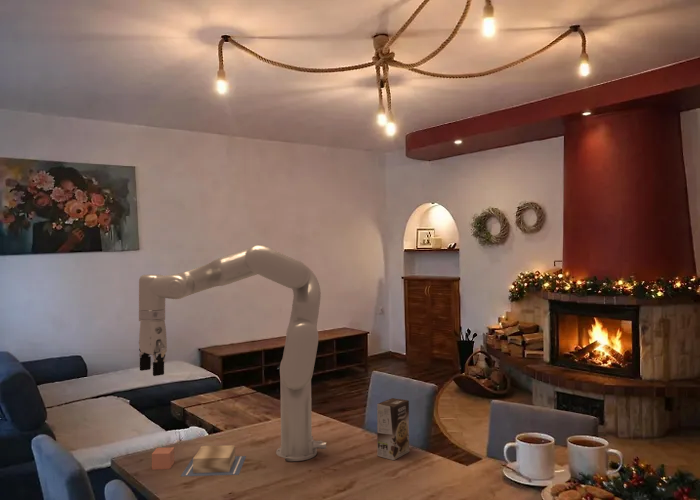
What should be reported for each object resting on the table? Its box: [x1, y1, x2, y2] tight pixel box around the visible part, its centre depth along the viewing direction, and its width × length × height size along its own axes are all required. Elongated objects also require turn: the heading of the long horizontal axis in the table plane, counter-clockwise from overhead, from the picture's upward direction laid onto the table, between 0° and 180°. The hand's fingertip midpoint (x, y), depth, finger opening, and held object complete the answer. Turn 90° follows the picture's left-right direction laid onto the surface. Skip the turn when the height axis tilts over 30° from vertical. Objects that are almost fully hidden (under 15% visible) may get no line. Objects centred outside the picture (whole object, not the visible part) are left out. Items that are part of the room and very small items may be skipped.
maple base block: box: [192, 444, 236, 473], centre depth 158 cm, size 10×10×4 cm
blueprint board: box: [180, 455, 247, 477], centre depth 158 cm, size 16×14×1 cm
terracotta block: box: [151, 446, 176, 471], centre depth 158 cm, size 5×5×6 cm
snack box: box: [376, 397, 410, 461], centre depth 168 cm, size 9×6×16 cm
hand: (151, 372), depth 164 cm, fingers open, 9 cm apart
